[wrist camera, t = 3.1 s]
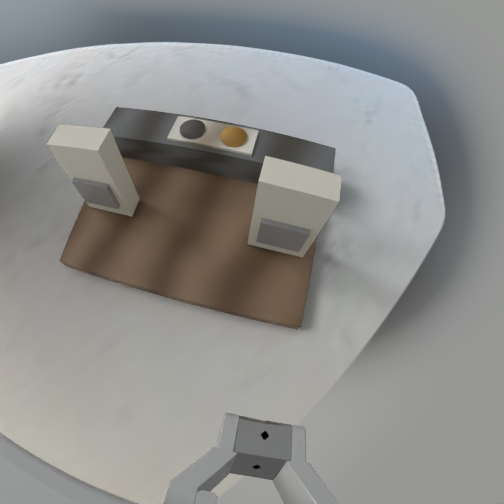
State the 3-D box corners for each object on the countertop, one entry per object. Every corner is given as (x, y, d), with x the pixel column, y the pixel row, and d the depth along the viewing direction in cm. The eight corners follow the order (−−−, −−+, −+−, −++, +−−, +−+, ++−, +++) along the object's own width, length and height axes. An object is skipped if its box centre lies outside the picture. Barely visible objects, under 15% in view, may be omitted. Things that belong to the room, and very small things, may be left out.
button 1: (246, 248, 28) (256, 186, 18) (252, 224, 28) (265, 155, 19) (301, 261, 28) (338, 207, 18) (306, 237, 28) (341, 175, 19)
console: (66, 266, 27) (39, 245, 22) (131, 127, 34) (121, 94, 29) (296, 329, 27) (313, 319, 22) (323, 166, 34) (337, 134, 29)
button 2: (87, 210, 28) (43, 148, 18) (97, 189, 29) (59, 124, 19) (130, 220, 28) (94, 155, 18) (139, 198, 29) (110, 128, 19)
